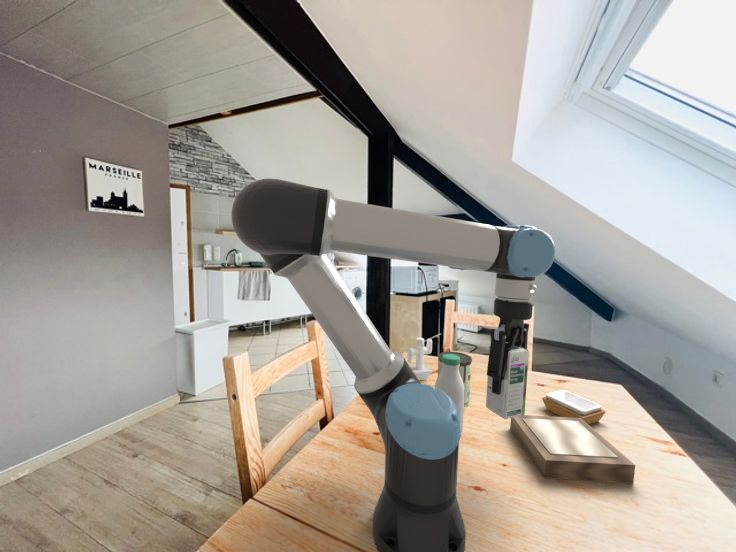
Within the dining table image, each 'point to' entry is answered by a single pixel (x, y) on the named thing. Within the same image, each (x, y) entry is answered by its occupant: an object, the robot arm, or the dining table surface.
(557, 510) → the dining table surface
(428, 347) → the figurine
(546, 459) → the pedestal
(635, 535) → the dining table surface
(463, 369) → the coffee can
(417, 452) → the robot arm
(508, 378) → the syrup box
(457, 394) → the milk bottle
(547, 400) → the soap dish
